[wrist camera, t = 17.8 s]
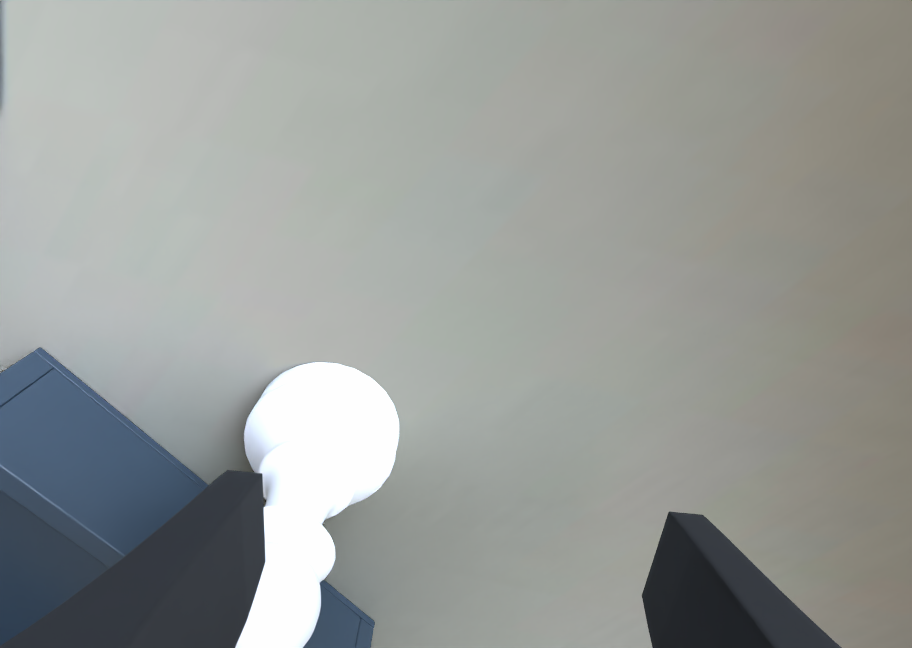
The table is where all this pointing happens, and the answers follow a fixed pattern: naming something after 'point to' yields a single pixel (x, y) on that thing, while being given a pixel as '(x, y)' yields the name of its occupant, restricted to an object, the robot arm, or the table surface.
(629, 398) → the table surface
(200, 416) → the table surface
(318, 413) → the chess pawn
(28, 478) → the crate
